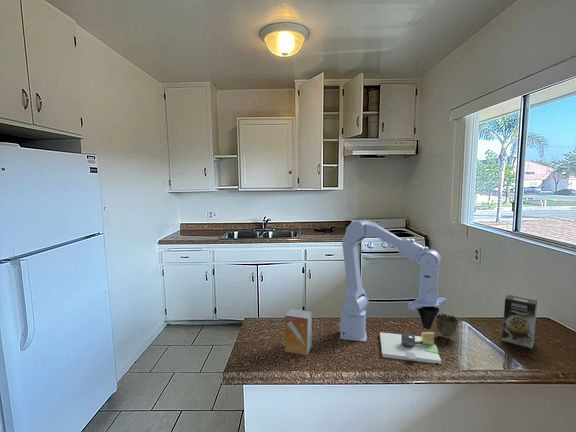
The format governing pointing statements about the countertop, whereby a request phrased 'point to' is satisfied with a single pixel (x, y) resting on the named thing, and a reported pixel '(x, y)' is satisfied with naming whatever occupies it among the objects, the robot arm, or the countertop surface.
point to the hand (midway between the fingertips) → (426, 327)
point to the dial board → (408, 349)
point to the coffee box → (519, 321)
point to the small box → (298, 331)
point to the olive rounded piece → (446, 325)
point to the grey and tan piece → (409, 341)
